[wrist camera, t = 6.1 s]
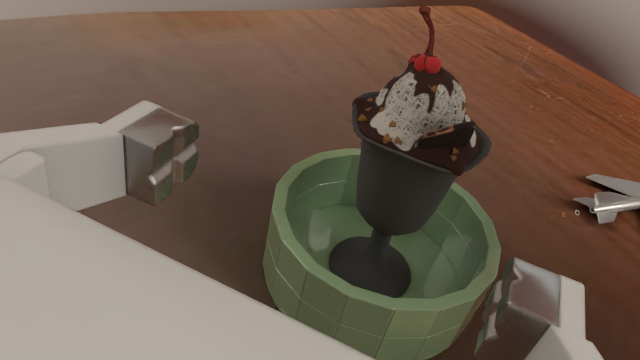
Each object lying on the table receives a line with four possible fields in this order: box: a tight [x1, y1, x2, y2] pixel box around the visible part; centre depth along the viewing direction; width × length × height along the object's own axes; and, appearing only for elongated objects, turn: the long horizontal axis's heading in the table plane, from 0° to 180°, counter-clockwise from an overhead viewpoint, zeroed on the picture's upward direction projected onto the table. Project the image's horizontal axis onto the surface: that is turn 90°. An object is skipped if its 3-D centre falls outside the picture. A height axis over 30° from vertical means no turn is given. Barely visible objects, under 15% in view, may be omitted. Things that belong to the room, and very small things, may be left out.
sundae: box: [329, 5, 491, 298], centre depth 25 cm, size 7×7×15 cm
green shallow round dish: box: [263, 148, 501, 360], centre depth 29 cm, size 12×13×4 cm
